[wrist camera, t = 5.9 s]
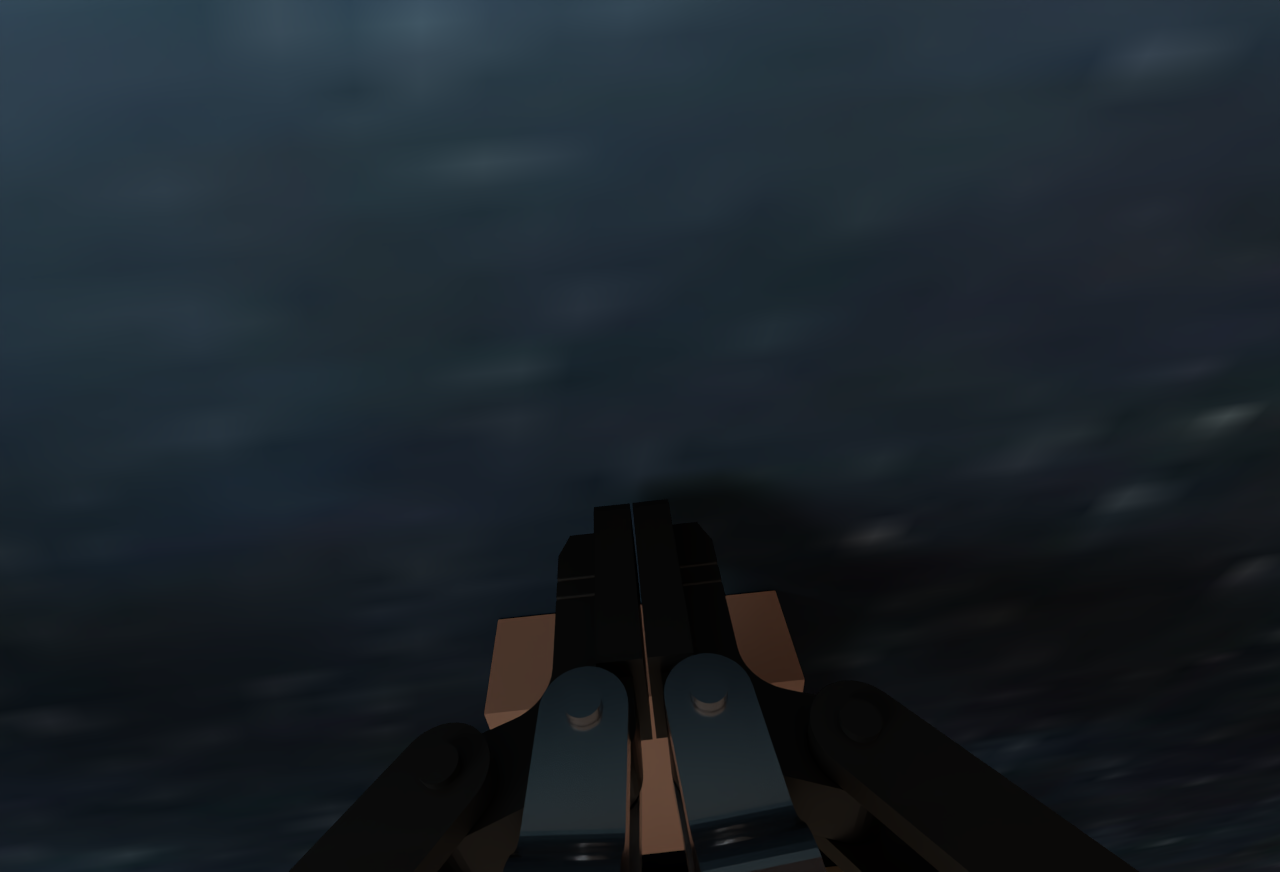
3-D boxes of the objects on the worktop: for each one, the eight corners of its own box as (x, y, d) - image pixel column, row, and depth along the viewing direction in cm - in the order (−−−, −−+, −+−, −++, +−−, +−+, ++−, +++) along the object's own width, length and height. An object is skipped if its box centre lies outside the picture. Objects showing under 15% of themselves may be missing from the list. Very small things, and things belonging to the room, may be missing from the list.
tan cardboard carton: (498, 619, 15) (484, 714, 13) (775, 590, 15) (804, 679, 13) (548, 777, 20) (543, 865, 18) (761, 753, 20) (781, 838, 18)
